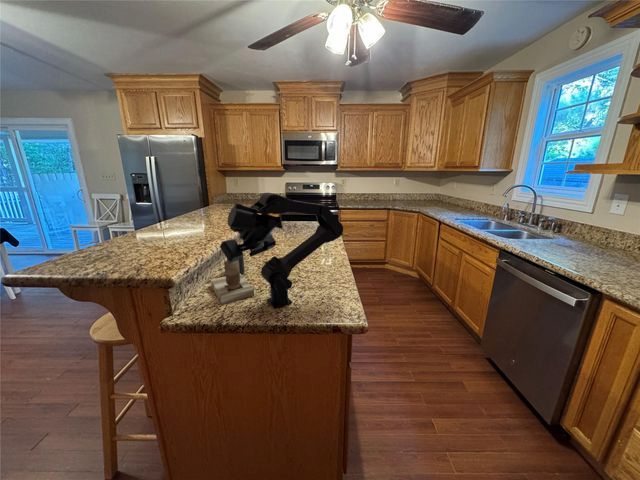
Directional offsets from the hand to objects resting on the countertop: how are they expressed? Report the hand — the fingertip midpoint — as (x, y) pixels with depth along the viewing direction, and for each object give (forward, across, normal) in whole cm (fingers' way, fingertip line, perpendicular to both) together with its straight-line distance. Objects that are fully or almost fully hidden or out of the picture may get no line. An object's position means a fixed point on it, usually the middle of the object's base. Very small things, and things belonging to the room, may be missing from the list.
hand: (239, 258), depth 85 cm
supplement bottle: (+22, -12, -4) cm, 25 cm away
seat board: (+14, 0, +5) cm, 15 cm away
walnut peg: (+12, +1, +7) cm, 14 cm away
